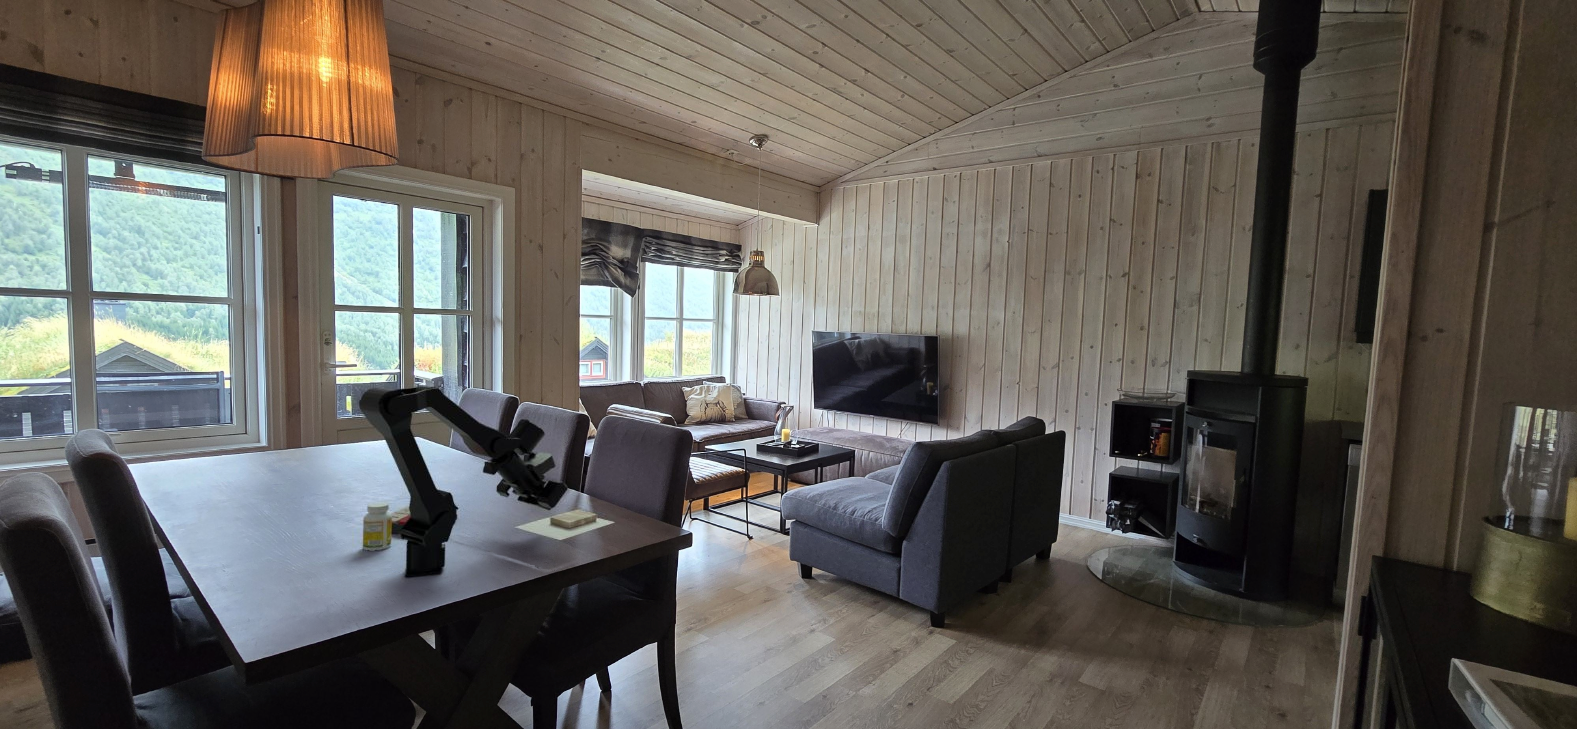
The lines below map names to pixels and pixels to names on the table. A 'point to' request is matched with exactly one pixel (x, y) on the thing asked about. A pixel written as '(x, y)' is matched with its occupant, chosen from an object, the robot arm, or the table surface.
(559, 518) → the tile
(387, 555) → the table surface
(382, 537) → the supplement bottle
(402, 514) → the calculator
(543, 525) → the mat
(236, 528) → the table surface
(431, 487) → the robot arm
